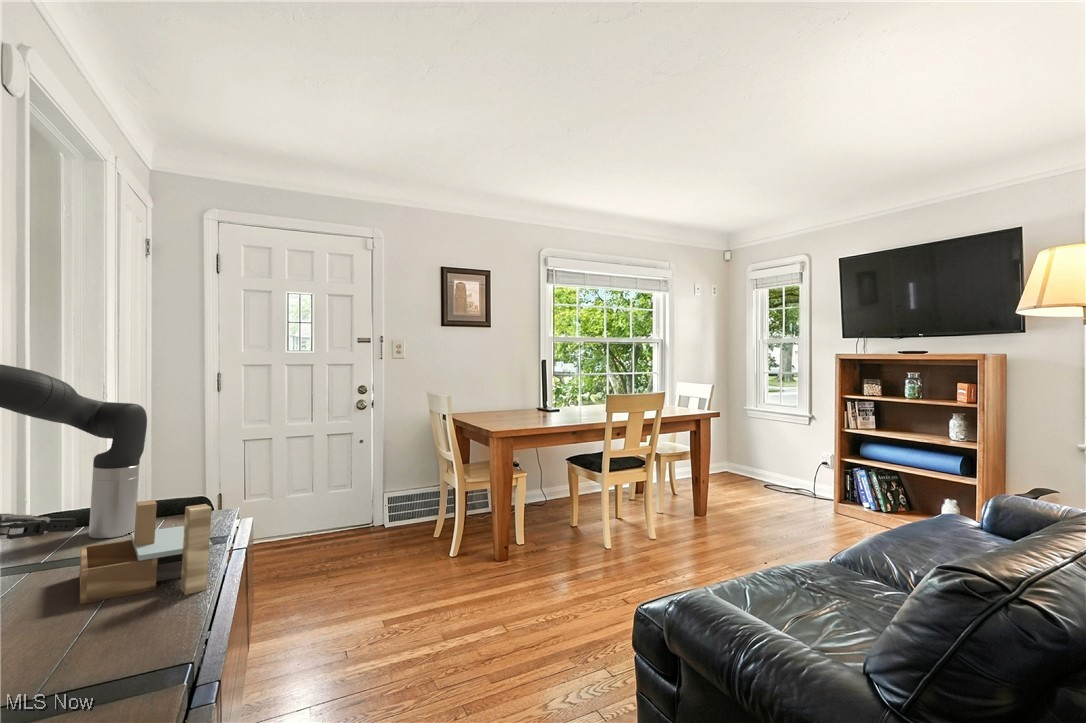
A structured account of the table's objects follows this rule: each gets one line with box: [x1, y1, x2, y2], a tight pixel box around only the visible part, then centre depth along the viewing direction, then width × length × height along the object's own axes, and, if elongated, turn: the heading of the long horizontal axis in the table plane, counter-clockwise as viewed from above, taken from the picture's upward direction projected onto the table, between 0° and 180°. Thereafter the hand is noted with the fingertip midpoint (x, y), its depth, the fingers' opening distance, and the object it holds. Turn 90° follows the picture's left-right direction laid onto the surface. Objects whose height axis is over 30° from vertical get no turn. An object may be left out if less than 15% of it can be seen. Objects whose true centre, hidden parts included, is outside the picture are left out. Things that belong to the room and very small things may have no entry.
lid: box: [130, 499, 213, 561], centre depth 109 cm, size 17×12×9 cm
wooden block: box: [180, 503, 212, 596], centre depth 102 cm, size 4×4×16 cm
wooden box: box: [78, 539, 183, 605], centre depth 106 cm, size 16×18×6 cm
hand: (75, 524), depth 100 cm, fingers closed
